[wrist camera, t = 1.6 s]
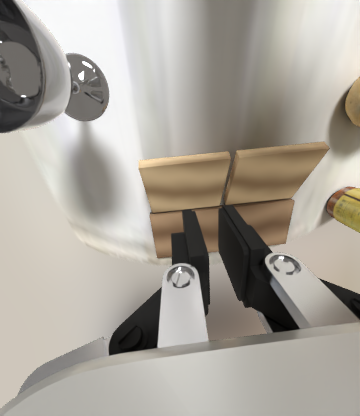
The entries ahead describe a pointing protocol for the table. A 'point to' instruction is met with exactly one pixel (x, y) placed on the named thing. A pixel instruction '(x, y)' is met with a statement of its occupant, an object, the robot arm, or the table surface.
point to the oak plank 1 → (185, 181)
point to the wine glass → (42, 74)
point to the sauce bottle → (346, 207)
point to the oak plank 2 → (271, 172)
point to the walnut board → (208, 220)
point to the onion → (354, 103)
